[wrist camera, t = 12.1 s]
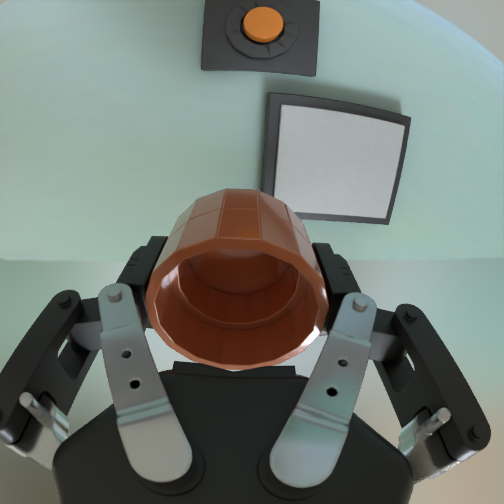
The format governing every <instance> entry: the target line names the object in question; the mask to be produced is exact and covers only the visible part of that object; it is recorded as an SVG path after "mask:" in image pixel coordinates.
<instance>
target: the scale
mask: <svg viewBox="0 0 504 504" xmlns="http://www.w3.org/2000/svg"><path fill="white" fill-rule="evenodd" d="M410 122H411V117H408V116H404V115H400V114H397V113H393V112H389V111H385V110H381V109H377V108H372V107H368V106H363V105H358V104H353V103H348V102H343V101H337V100H331V99H325V98H318V97H311V96H303V95H294V94H284V93H272V92H269V93H268V102H267V117H266V132H265V147H264V162H263V177H262V191H261V192H263V193H265V194H267V195H270V196H272V197H274V198H276V199H278V200H280V201H283V202H284V204H287V205H288V206H289V208H290V209H291V210H292V211H293V212H294V213H295V214H296V215H297V217H298V218H299V219H309V220H327V221H342V222H357V223H371V224H384V225H388V224H389V221H390V217H391V214H392V210H393V206H394V202H395V198H396V194H397V190H398V186H399V181H400V177H401V172H402V167H403V162H404V157H405V152H406V147H407V141H408V135H409V129H410Z"/></svg>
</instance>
